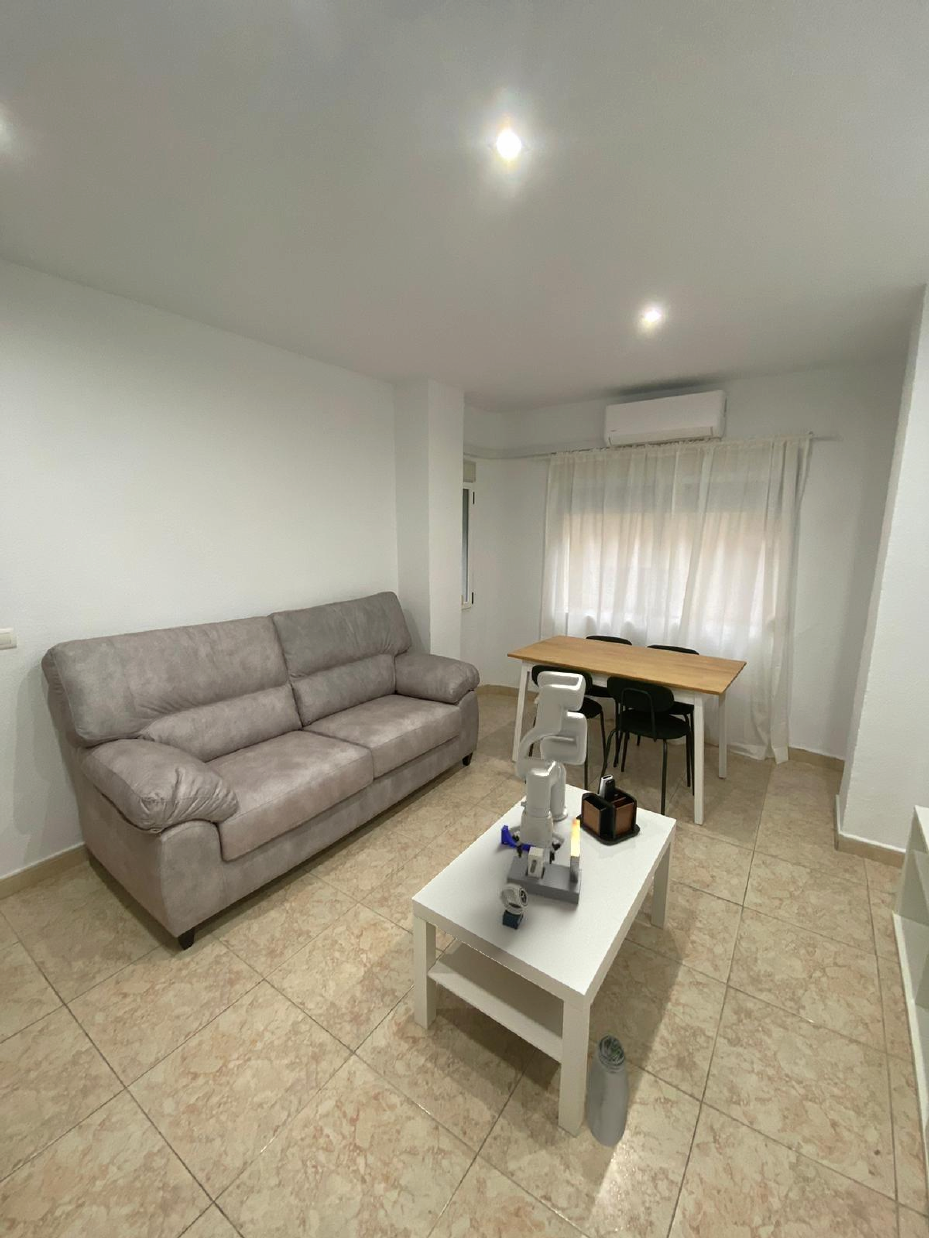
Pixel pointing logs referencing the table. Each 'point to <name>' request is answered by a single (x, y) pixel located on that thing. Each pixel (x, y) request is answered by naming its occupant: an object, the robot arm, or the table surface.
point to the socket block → (546, 881)
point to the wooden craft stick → (574, 852)
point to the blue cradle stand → (509, 841)
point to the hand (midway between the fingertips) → (535, 858)
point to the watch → (514, 905)
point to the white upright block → (535, 862)
